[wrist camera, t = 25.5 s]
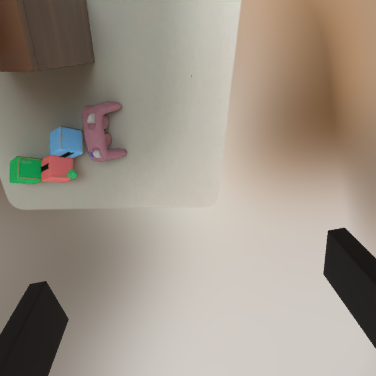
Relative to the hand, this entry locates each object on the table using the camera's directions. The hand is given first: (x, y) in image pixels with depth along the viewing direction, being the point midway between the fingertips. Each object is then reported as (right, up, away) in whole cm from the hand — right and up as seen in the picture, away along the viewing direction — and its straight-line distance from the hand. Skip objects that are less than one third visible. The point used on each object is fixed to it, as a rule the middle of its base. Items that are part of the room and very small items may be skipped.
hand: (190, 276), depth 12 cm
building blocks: (-25, +11, +36) cm, 45 cm away
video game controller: (-14, +15, +35) cm, 41 cm away
